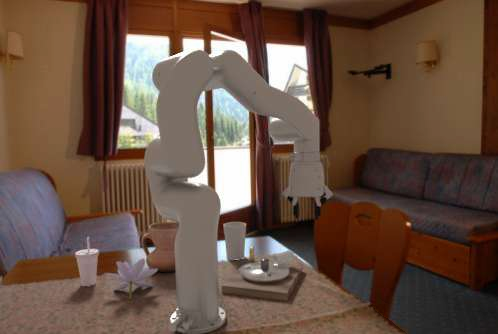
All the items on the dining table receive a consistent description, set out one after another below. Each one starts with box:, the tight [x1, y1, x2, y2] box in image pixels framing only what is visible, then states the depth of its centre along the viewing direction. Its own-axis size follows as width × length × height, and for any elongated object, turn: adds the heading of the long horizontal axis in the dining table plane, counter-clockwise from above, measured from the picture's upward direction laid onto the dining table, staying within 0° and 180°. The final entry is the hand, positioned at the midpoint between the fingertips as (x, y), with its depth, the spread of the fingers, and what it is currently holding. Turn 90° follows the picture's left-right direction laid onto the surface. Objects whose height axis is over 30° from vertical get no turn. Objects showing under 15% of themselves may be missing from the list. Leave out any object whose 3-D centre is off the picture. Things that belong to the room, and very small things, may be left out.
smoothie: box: [74, 236, 100, 287], centre depth 107 cm, size 6×6×14 cm
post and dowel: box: [248, 246, 270, 270], centre depth 111 cm, size 12×2×6 cm, turn 24°
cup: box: [223, 221, 247, 261], centre depth 129 cm, size 8×8×12 cm
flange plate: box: [241, 250, 293, 284], centre depth 108 cm, size 18×14×4 cm
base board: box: [221, 259, 304, 302], centre depth 107 cm, size 22×18×2 cm
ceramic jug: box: [140, 221, 179, 273], centre depth 120 cm, size 18×14×14 cm
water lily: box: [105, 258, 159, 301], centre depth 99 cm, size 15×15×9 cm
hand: (307, 217), depth 110 cm, fingers open, 5 cm apart
